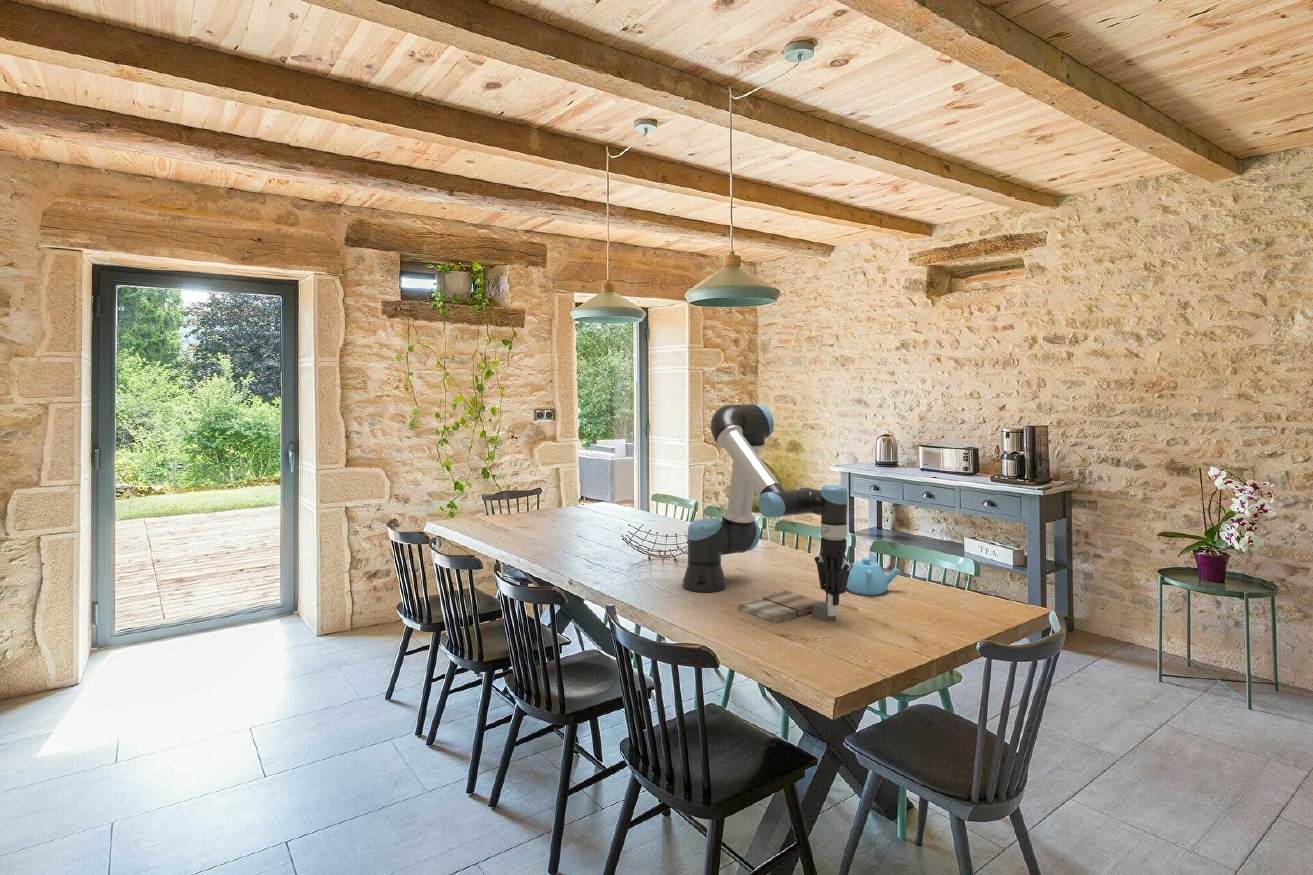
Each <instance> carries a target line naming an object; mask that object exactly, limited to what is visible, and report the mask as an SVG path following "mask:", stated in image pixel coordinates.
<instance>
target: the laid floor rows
mask: <svg viewBox="0 0 1313 875" xmlns="http://www.w3.org/2000/svg"><path fill="white" fill-rule="evenodd" d="M738 609H739V610H740V611H743V612H746V613H748V614H751V615H753V616H755V617H758V618H761V619H764V620H766V621H769V622H772V623H773V624H777V623H780V622H783V621H788V620H792V619H794V618H797V615H796V611H795V610H792V609H790V608H787V607H784V606H781V605H778V604H775V603H773V602H770V601H767V600H764V599H762V598H761V597H759V598H758V597H757V598H755V599H754V598H753V599H750V600H745V601H741V602H739V603H738Z"/></svg>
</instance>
